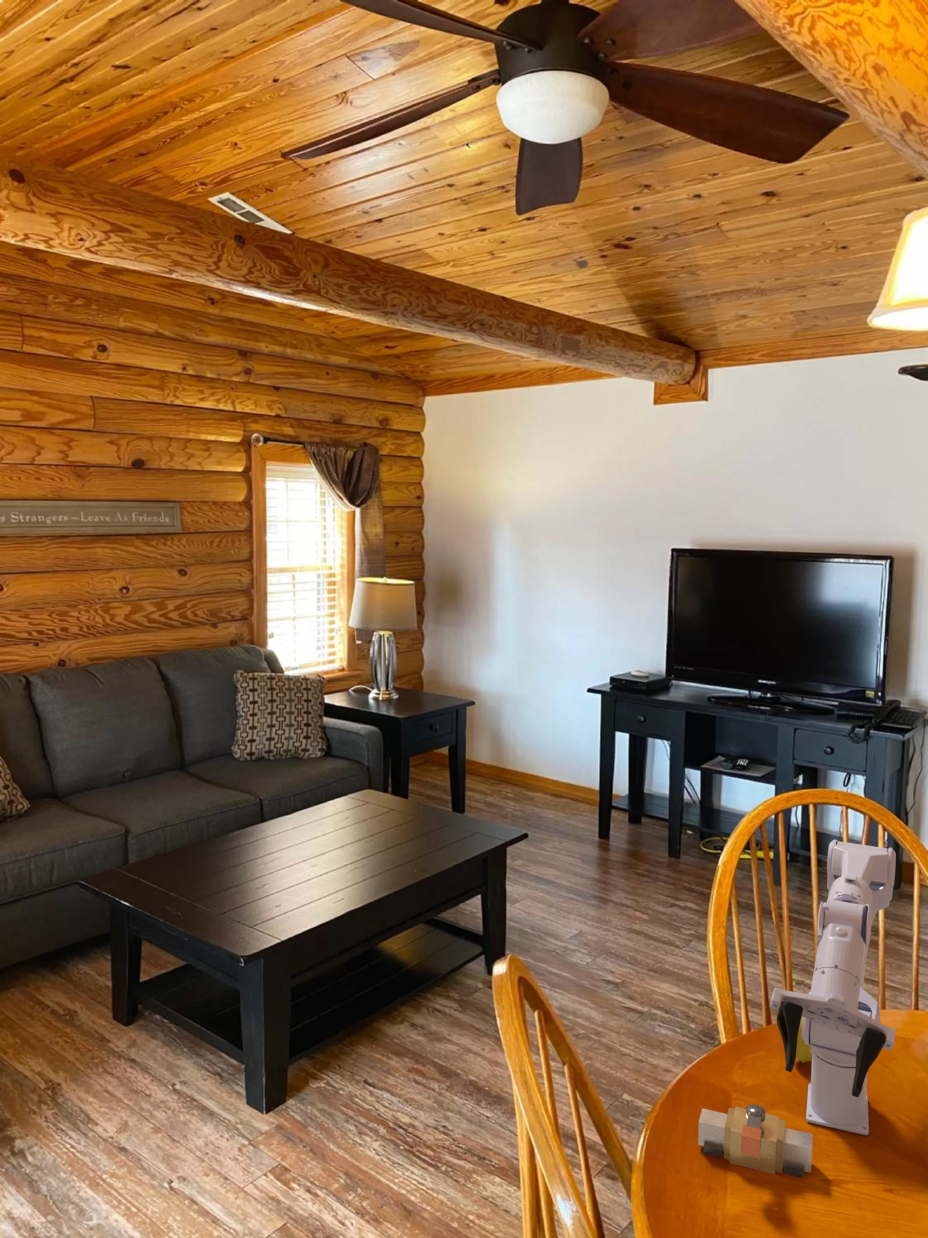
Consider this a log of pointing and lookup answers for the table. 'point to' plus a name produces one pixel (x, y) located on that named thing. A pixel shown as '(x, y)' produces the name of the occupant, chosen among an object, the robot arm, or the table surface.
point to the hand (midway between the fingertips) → (822, 1080)
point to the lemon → (802, 1047)
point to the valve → (775, 1142)
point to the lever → (752, 1131)
